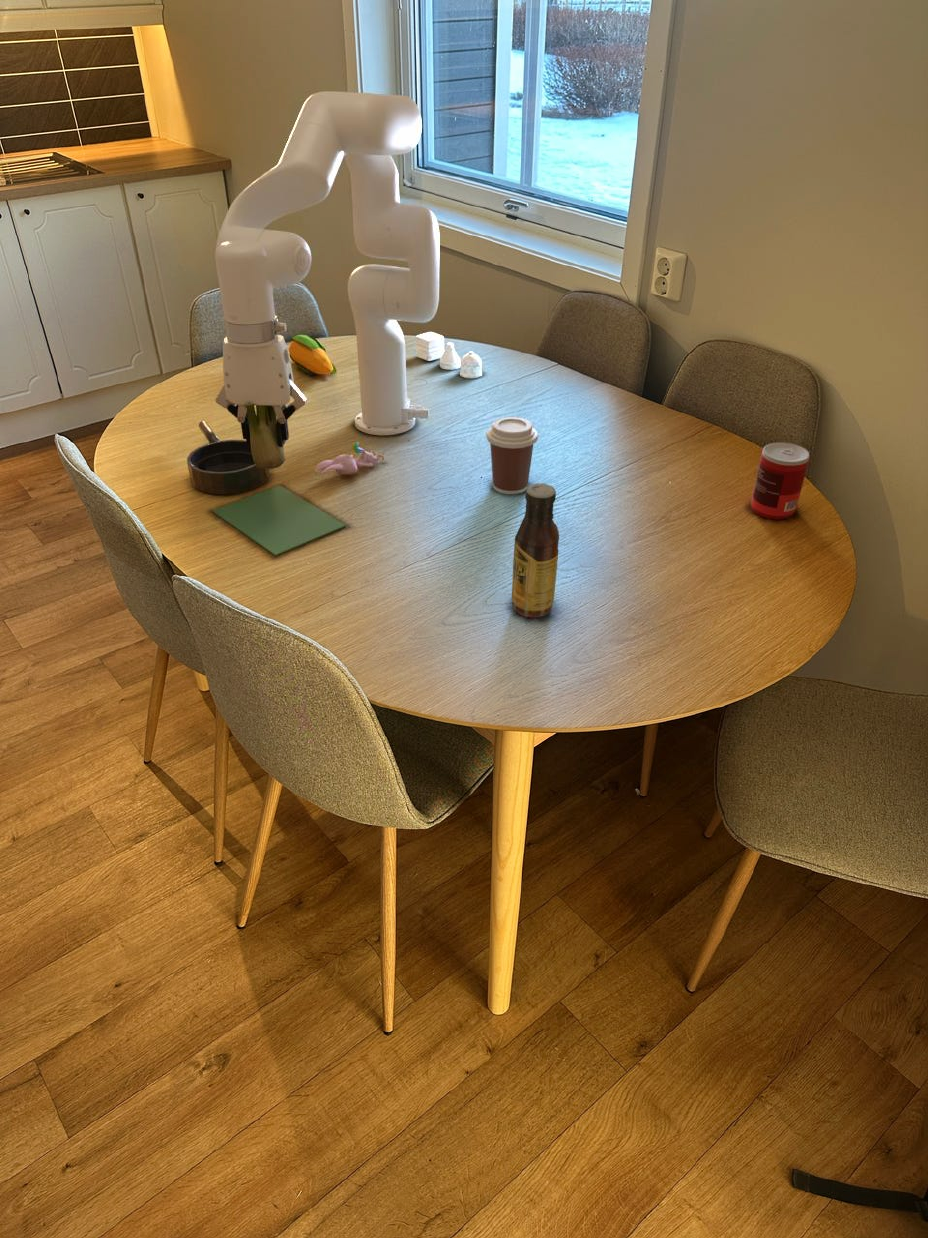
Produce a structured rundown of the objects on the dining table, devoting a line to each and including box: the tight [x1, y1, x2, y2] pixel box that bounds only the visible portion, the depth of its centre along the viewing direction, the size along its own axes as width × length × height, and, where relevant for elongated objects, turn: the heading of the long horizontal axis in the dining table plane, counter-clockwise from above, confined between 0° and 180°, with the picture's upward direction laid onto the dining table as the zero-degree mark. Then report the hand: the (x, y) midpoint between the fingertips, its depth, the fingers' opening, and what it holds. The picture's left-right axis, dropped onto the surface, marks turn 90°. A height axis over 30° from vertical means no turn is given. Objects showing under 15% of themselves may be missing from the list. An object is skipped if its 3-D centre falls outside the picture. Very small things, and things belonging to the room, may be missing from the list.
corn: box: [288, 334, 338, 375], centre depth 206 cm, size 7×8×20 cm
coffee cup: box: [485, 416, 539, 495], centre depth 157 cm, size 9×9×12 cm
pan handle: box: [198, 420, 221, 444], centre depth 170 cm, size 12×2×2 cm, turn 28°
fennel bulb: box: [246, 402, 286, 470], centre depth 141 cm, size 6×5×12 cm
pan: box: [186, 439, 271, 496], centre depth 161 cm, size 14×14×4 cm
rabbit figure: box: [314, 441, 386, 476], centre depth 163 cm, size 6×6×15 cm
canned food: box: [750, 441, 811, 520], centre depth 150 cm, size 8×8×11 cm
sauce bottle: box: [511, 482, 560, 619], centre depth 123 cm, size 7×6×20 cm
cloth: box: [211, 484, 347, 557], centre depth 150 cm, size 20×14×1 cm
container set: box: [415, 331, 483, 379], centre depth 209 cm, size 20×5×6 cm, turn 42°
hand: (266, 442), depth 142 cm, fingers closed on fennel bulb, 4 cm apart
